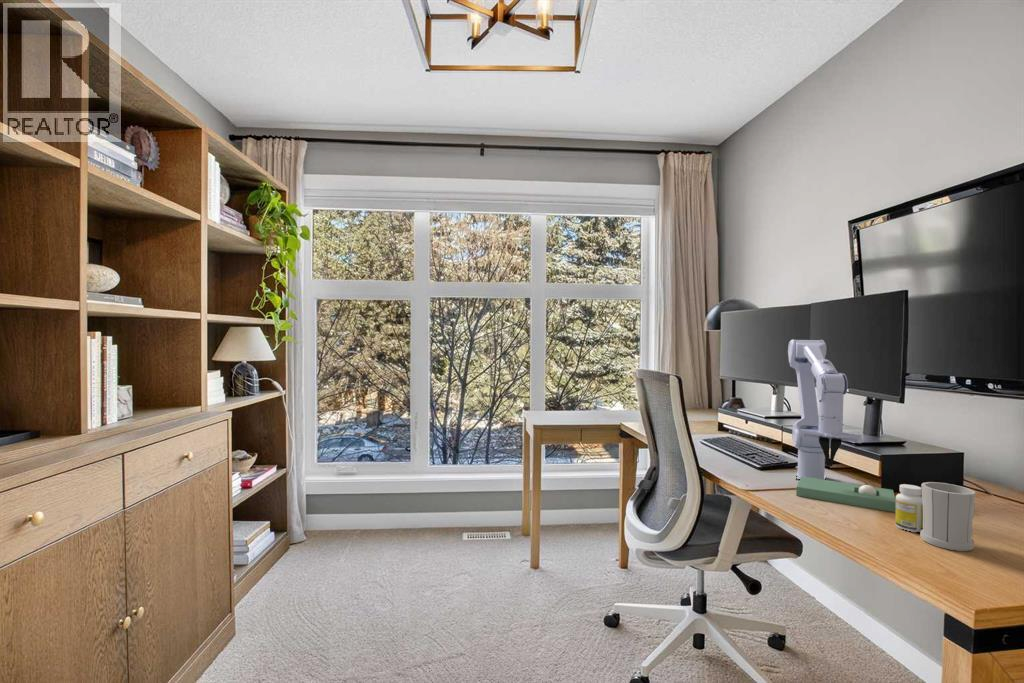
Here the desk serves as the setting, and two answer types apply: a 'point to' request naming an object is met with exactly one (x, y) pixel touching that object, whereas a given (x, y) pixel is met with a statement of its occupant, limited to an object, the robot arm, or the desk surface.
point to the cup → (948, 515)
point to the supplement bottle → (909, 508)
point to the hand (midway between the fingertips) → (829, 465)
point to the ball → (867, 490)
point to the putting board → (845, 493)
